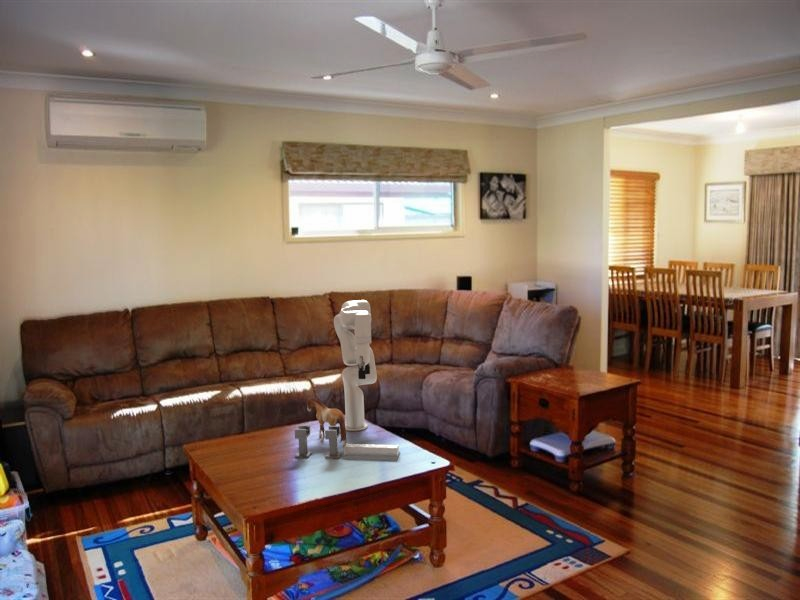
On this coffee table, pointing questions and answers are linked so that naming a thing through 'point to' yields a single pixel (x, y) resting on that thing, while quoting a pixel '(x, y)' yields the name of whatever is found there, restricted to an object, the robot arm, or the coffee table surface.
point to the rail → (371, 450)
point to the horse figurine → (328, 417)
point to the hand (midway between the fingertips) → (364, 376)
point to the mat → (370, 457)
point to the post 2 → (333, 442)
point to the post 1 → (303, 441)
